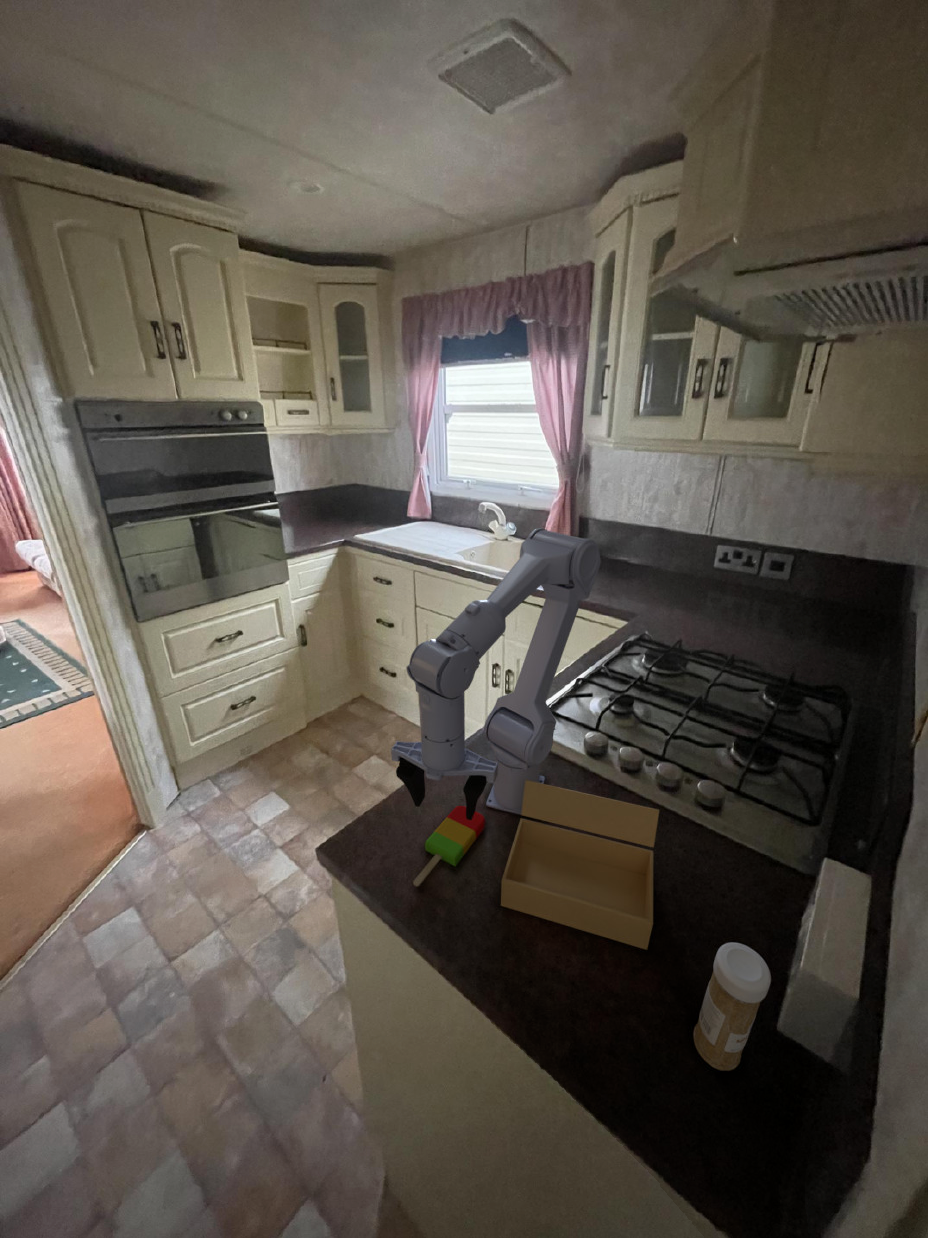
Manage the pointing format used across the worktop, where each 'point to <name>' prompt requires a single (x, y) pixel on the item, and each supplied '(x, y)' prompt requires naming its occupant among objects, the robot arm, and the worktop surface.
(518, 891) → the carton
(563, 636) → the robot arm
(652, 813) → the flap
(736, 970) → the sprinkles bottle
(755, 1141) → the worktop surface
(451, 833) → the popsicle
